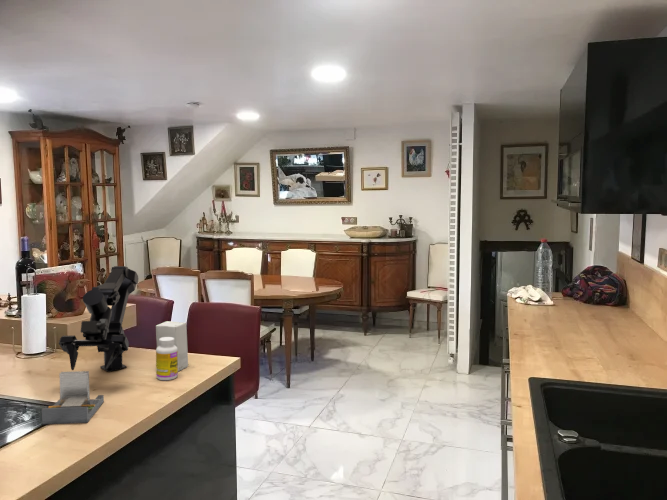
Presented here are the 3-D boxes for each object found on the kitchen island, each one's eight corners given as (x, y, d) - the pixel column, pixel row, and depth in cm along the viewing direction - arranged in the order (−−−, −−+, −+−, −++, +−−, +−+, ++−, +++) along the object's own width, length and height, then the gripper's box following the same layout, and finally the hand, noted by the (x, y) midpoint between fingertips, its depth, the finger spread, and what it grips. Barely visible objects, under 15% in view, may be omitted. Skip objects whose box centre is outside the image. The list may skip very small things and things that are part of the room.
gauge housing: (62, 403, 149) (62, 389, 148) (103, 401, 150) (103, 388, 150) (42, 424, 135) (41, 409, 134) (87, 422, 136) (86, 407, 136)
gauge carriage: (53, 407, 143) (52, 372, 142) (98, 406, 144) (97, 370, 143) (47, 414, 139) (46, 377, 138) (93, 412, 140) (92, 376, 139)
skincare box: (188, 366, 181) (188, 322, 180) (177, 372, 175) (176, 326, 174) (168, 363, 184) (167, 320, 183) (156, 369, 178) (155, 324, 176)
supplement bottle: (171, 381, 167) (170, 342, 165) (152, 380, 168) (151, 340, 167) (181, 374, 173) (181, 336, 172) (163, 373, 175) (162, 335, 173)
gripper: (59, 309, 156) (46, 357, 146) (125, 308, 158) (116, 355, 149) (70, 328, 165) (58, 374, 155) (132, 327, 167) (124, 373, 157)
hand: (88, 369), depth 154 cm, fingers open, 9 cm apart
